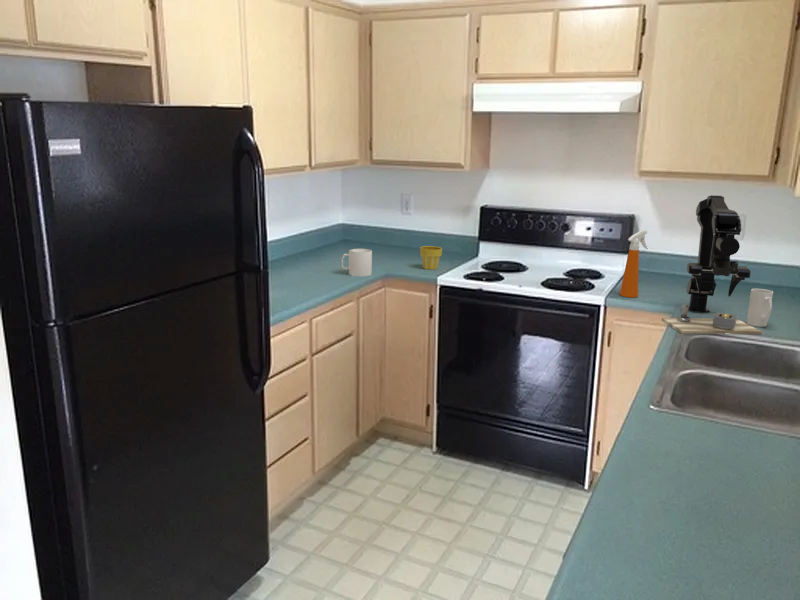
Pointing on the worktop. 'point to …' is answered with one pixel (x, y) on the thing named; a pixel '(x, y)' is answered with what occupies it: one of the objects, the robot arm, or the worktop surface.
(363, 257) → the mug
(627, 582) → the worktop surface
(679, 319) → the stand
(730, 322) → the grey square frame
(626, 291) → the spray bottle
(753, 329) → the board
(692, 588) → the worktop surface
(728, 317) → the hub
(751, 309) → the mug
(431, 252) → the plant pot
